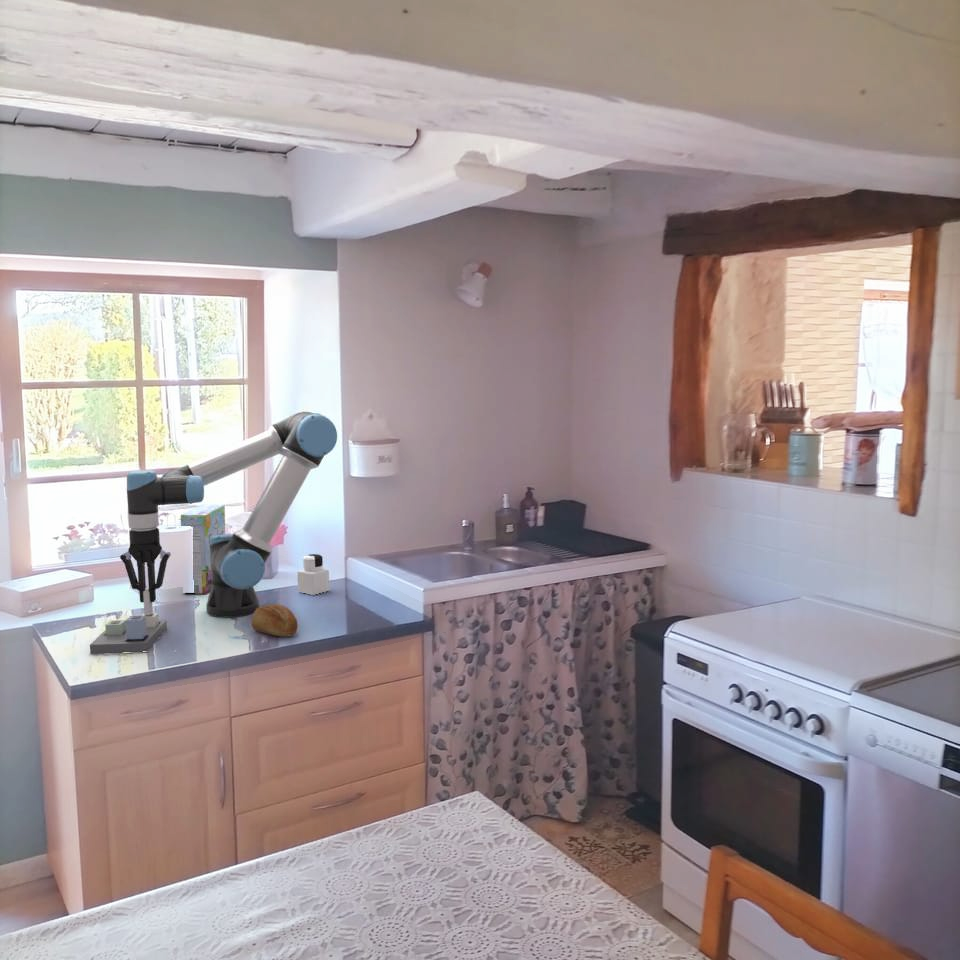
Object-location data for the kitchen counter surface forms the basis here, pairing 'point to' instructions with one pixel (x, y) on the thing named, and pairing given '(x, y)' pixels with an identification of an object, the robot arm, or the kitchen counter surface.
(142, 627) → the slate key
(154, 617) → the ivory key
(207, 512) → the snack box
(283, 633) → the bread roll
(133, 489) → the robot arm
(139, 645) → the keypad board
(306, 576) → the stacked cream blocks
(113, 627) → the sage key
